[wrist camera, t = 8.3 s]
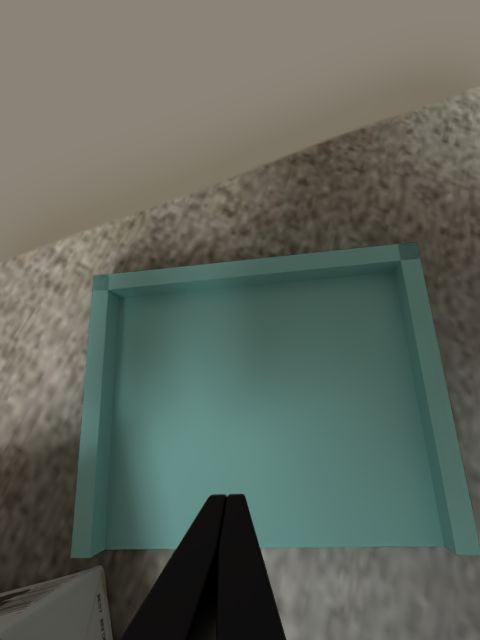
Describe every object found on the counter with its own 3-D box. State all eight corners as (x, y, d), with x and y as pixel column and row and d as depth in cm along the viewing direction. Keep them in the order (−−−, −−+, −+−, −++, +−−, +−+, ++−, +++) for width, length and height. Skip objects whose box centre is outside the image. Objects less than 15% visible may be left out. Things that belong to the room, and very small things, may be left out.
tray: (463, 543, 14) (481, 555, 13) (90, 547, 16) (70, 557, 15) (407, 257, 18) (416, 241, 17) (108, 287, 20) (93, 275, 19)
